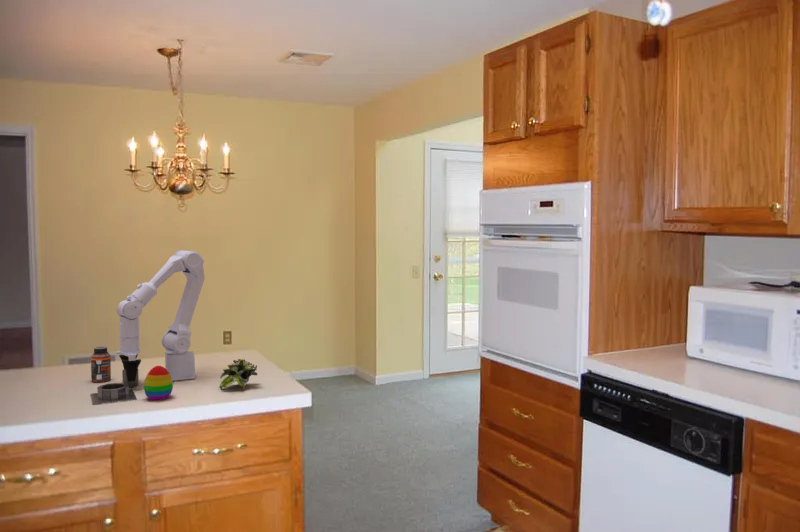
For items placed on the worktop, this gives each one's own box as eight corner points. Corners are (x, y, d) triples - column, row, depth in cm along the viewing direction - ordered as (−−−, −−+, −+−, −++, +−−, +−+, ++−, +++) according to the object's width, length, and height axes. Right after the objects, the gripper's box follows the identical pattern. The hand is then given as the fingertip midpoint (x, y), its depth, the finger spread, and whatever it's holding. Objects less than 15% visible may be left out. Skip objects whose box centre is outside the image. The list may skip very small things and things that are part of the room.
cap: (137, 383, 208) (137, 367, 207) (139, 387, 204) (139, 370, 203) (122, 385, 206) (121, 368, 205) (123, 389, 201) (123, 371, 201)
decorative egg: (148, 403, 186) (147, 370, 185) (141, 397, 193) (140, 365, 192) (176, 399, 191) (175, 366, 190) (168, 392, 197) (167, 361, 197)
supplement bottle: (103, 383, 208) (102, 349, 207) (87, 382, 209) (86, 348, 208) (114, 378, 214) (114, 346, 213) (99, 377, 215) (98, 345, 214)
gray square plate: (132, 389, 200) (132, 379, 200) (136, 399, 190) (136, 388, 190) (90, 394, 195) (90, 384, 194) (92, 404, 184) (92, 393, 184)
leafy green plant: (239, 400, 208) (257, 368, 212) (249, 403, 199) (268, 369, 203) (210, 385, 204) (229, 352, 208) (218, 386, 195) (238, 352, 199)
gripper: (114, 334, 208) (114, 374, 209) (118, 342, 195) (118, 384, 196) (137, 332, 211) (137, 372, 212) (142, 340, 199) (143, 382, 200)
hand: (130, 378), depth 204 cm, fingers open, 7 cm apart
